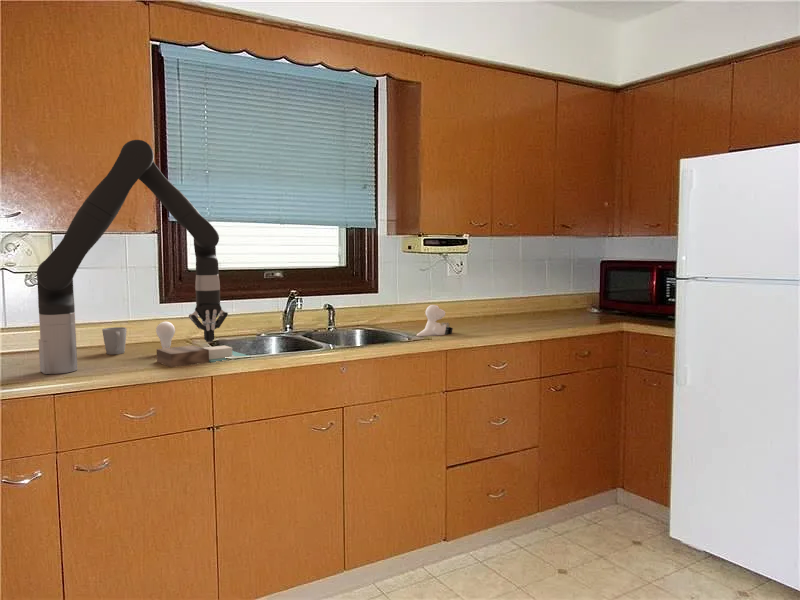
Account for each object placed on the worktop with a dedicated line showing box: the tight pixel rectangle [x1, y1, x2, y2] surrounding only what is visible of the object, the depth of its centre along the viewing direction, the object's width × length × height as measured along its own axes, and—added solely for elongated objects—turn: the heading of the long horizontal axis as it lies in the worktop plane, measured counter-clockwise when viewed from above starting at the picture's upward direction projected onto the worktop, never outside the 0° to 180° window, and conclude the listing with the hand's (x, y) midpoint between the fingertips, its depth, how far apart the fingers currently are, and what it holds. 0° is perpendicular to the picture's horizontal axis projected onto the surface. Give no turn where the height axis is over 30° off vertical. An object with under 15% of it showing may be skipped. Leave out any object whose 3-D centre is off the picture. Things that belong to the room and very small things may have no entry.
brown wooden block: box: [156, 344, 210, 368], centre depth 200 cm, size 12×12×4 cm
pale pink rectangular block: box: [203, 344, 233, 359], centre depth 207 cm, size 9×6×3 cm, turn 128°
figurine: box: [416, 304, 454, 337], centre depth 259 cm, size 8×18×12 cm, turn 125°
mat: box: [208, 350, 250, 363], centre depth 209 cm, size 14×14×1 cm
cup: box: [102, 326, 127, 356], centre depth 215 cm, size 8×10×8 cm
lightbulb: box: [155, 321, 176, 349], centre depth 215 cm, size 6×6×11 cm
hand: (209, 341), depth 206 cm, fingers closed
